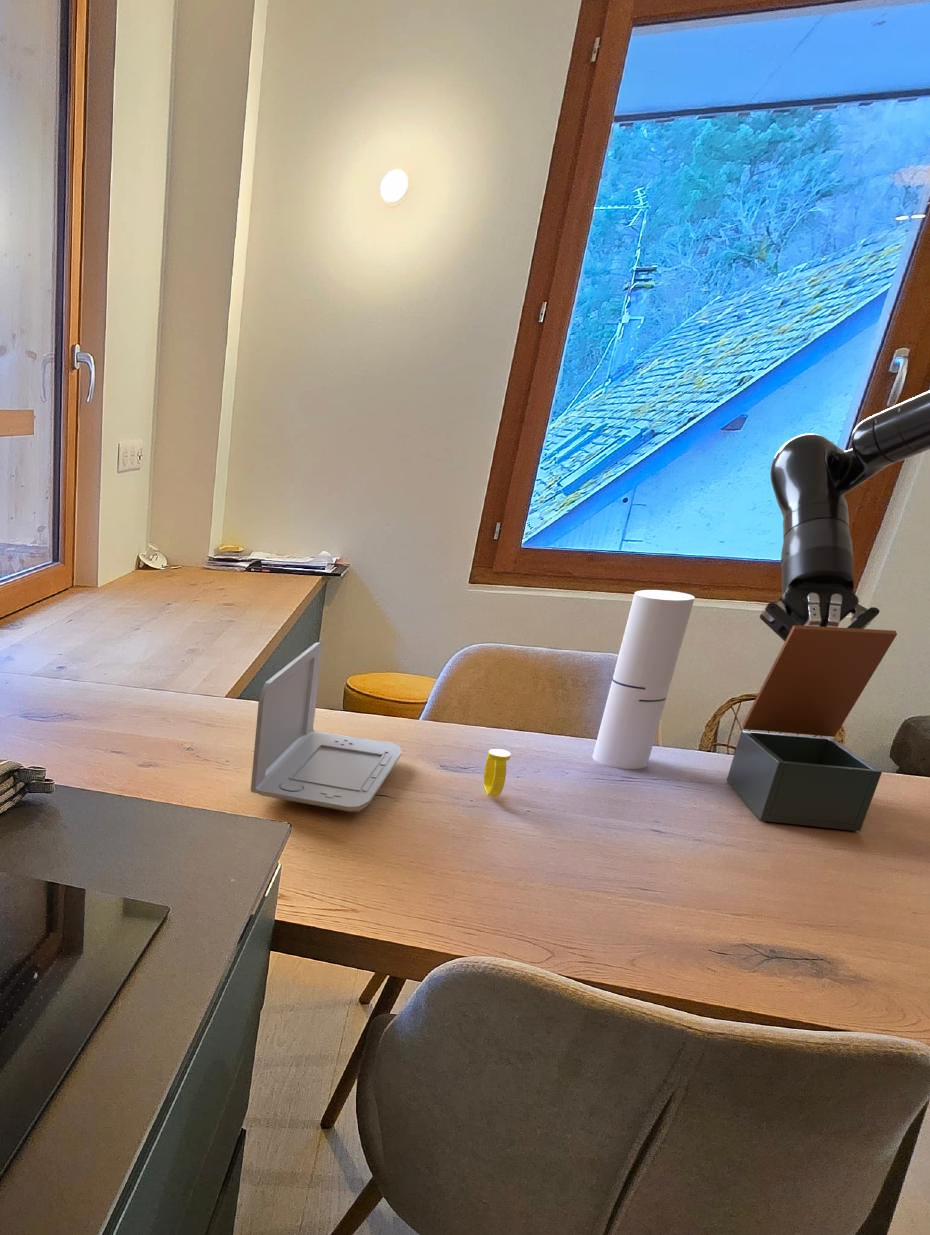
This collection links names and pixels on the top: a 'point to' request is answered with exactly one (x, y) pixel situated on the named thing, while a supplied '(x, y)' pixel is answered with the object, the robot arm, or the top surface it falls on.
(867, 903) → the top surface
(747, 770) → the lidded box
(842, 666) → the panel
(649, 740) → the cylindrical container
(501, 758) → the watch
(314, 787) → the game console
